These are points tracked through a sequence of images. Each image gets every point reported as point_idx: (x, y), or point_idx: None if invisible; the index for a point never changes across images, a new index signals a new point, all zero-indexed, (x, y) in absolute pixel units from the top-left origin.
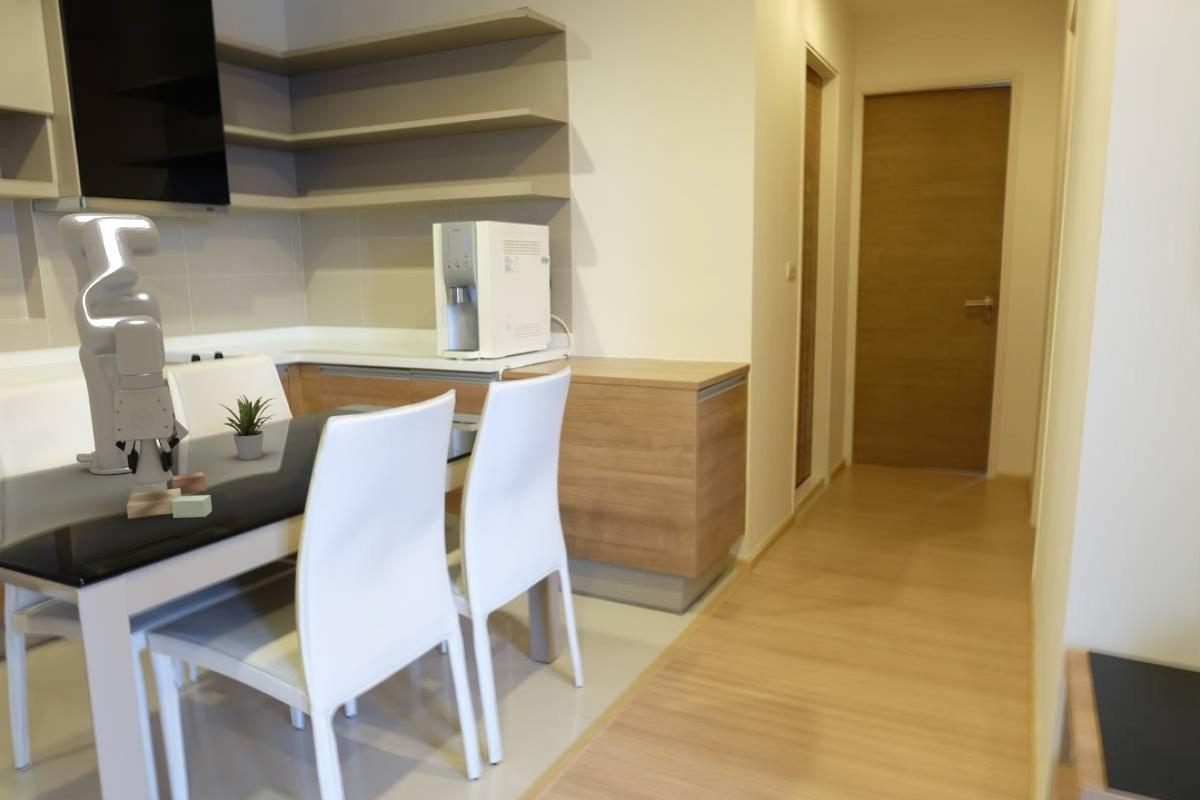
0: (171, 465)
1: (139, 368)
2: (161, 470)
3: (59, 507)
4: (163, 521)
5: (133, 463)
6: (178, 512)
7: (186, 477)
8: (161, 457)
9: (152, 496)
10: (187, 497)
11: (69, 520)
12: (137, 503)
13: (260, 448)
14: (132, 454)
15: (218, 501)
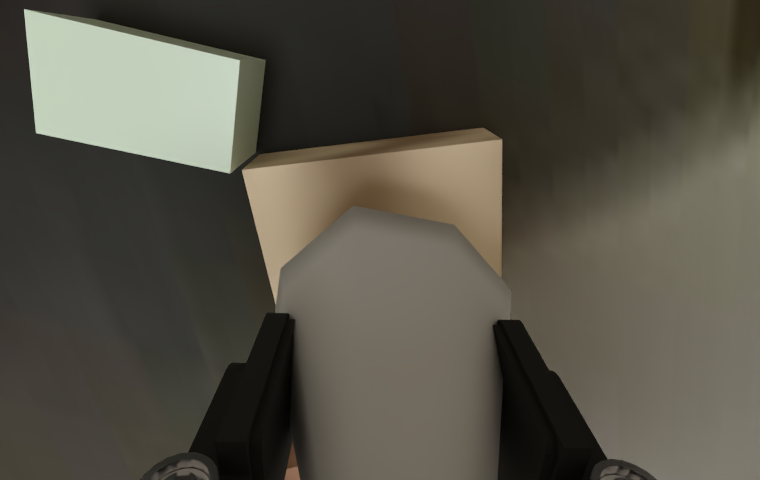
0: (231, 363)
1: None
2: (304, 313)
3: (742, 372)
4: (301, 7)
5: (528, 374)
6: (228, 53)
7: (291, 477)
8: (301, 448)
9: None
10: (167, 126)
11: (724, 188)
12: (451, 167)
13: None
14: (565, 462)
15: (128, 269)
